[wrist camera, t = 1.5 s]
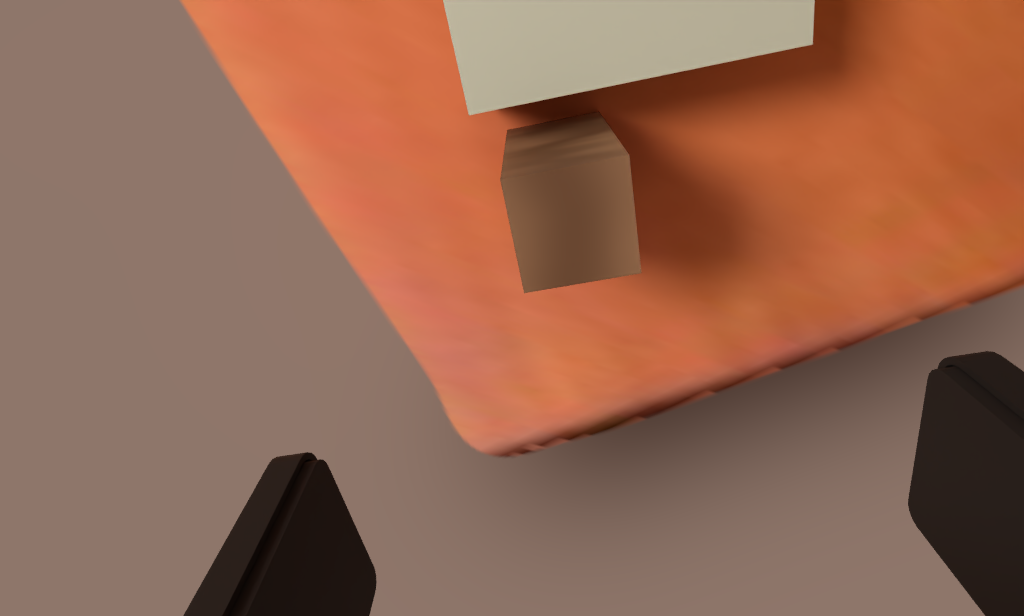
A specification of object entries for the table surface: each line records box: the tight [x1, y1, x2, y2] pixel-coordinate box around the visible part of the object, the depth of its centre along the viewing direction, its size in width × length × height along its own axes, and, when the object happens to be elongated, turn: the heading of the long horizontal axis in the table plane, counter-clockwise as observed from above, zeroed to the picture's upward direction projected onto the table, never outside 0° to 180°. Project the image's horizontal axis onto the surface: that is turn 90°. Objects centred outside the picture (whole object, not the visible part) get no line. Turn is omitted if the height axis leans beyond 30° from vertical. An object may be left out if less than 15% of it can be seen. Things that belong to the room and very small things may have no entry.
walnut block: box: [500, 112, 641, 293], centre depth 22 cm, size 4×4×8 cm
